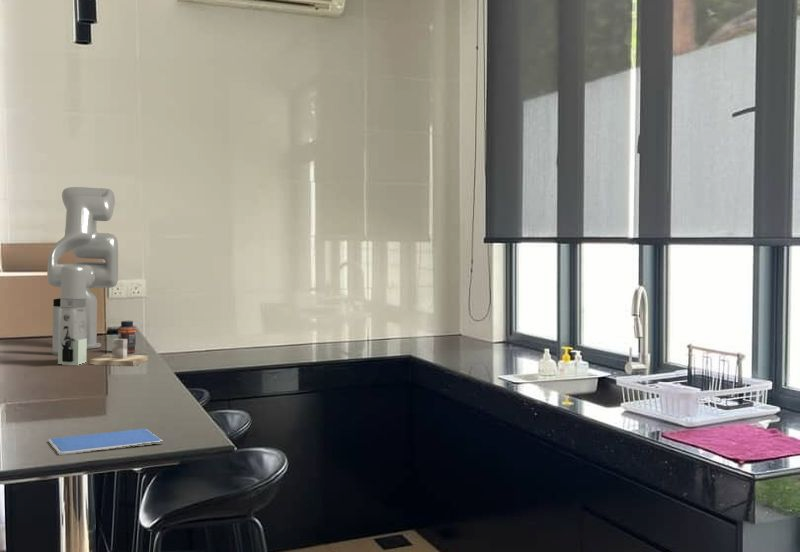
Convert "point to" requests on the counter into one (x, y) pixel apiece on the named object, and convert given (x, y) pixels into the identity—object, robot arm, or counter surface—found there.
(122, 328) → the supplement bottle
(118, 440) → the tablet computer
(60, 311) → the travel mug
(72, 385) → the counter surface
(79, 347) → the pale green block
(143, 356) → the post board
